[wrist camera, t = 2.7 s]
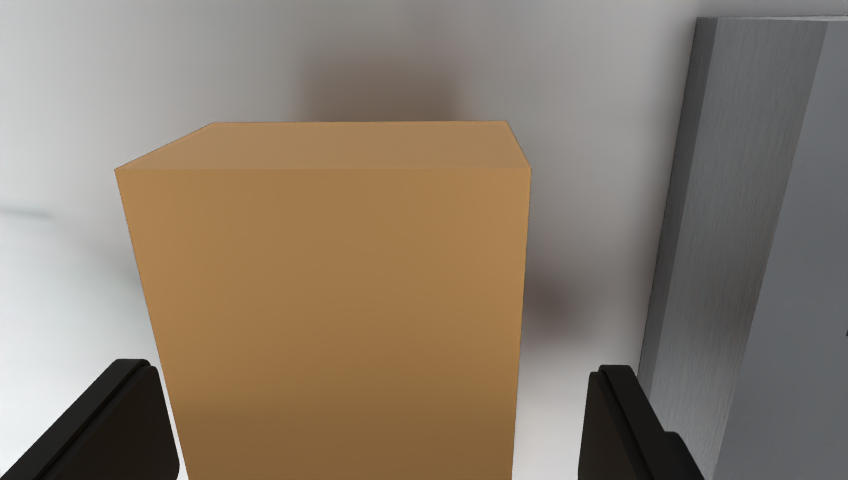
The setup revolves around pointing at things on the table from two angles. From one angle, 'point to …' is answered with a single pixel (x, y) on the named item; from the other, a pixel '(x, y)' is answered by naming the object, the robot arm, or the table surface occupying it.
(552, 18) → the table surface
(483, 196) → the tan wooden arch block
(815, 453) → the grey slotted base
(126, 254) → the table surface
